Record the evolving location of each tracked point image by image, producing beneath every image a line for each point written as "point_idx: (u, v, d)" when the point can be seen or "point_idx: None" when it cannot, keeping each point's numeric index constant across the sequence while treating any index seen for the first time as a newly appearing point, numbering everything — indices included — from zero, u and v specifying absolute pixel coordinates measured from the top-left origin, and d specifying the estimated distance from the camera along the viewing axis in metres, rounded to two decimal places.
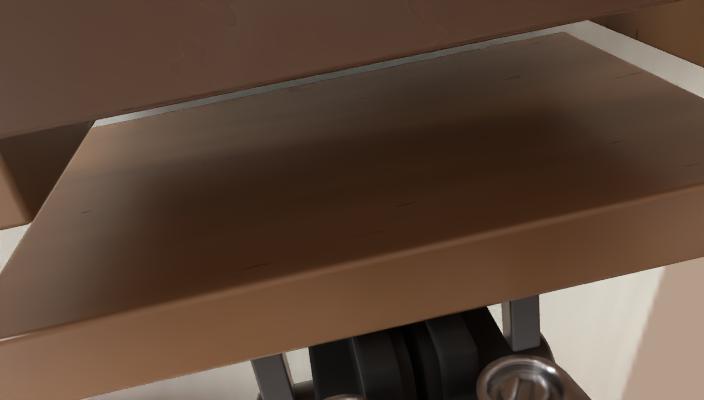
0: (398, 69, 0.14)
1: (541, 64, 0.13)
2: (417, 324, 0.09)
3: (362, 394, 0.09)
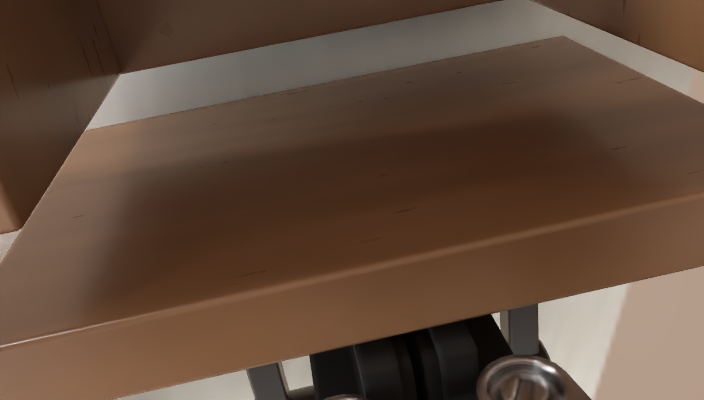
0: (396, 73, 0.14)
1: (540, 68, 0.13)
2: None
3: (362, 394, 0.09)
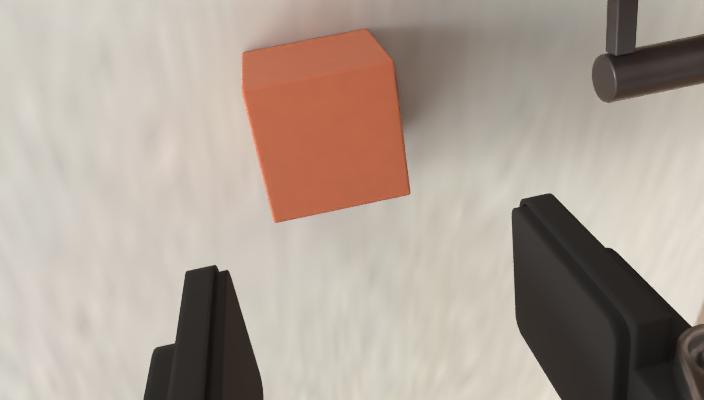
0: None
1: None
2: (595, 295, 0.09)
3: None
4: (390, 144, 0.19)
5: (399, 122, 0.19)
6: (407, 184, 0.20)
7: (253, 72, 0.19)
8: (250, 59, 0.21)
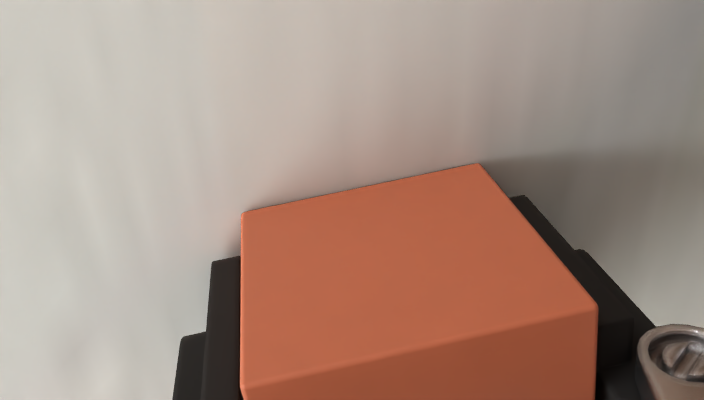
0: None
1: None
2: None
3: None
4: None
5: None
6: None
7: (266, 300, 0.09)
8: (258, 242, 0.10)
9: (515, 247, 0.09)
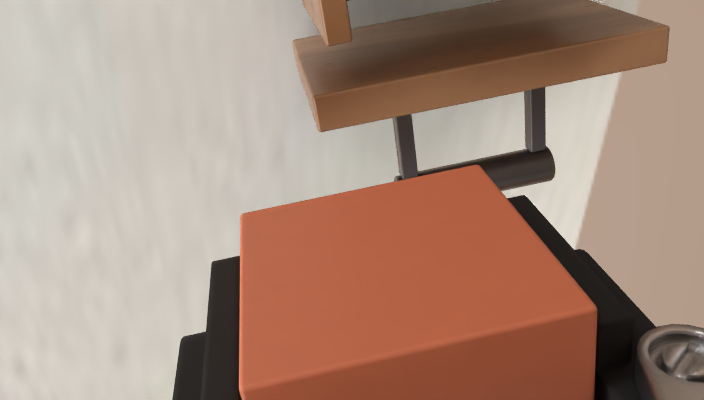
0: (465, 9, 0.26)
1: (545, 3, 0.25)
2: None
3: None
4: None
5: None
6: None
7: (265, 301, 0.09)
8: (257, 243, 0.10)
9: (514, 249, 0.09)
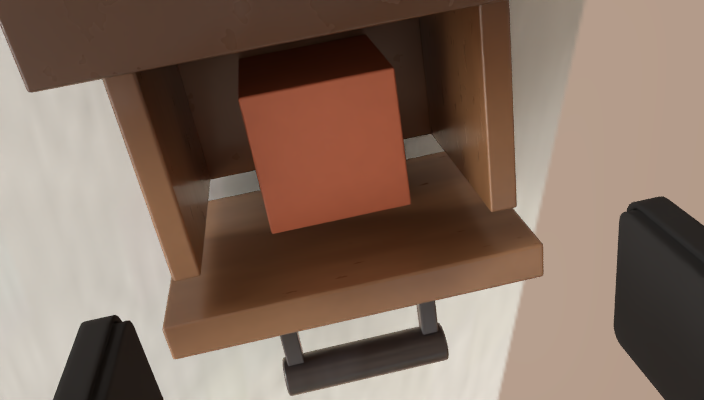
0: None
1: (441, 174, 0.24)
2: None
3: None
4: (391, 153, 0.19)
5: (400, 130, 0.19)
6: (408, 194, 0.20)
7: (250, 79, 0.19)
8: (246, 66, 0.20)
9: (368, 56, 0.19)
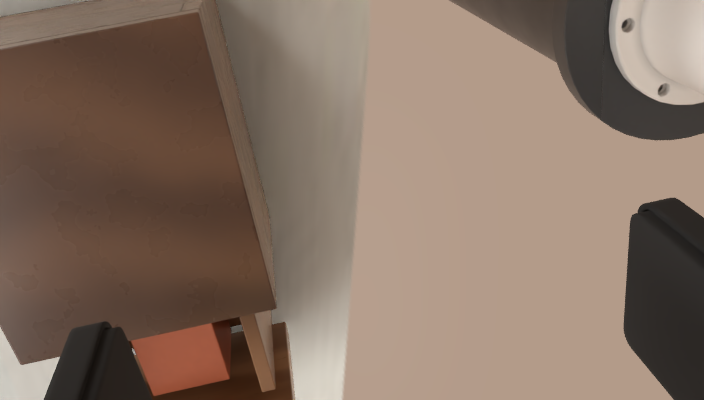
0: None
1: None
2: None
3: None
4: (214, 356, 0.36)
5: (218, 346, 0.35)
6: (227, 374, 0.36)
7: None
8: None
9: None
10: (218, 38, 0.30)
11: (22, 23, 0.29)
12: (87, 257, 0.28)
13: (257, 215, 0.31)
